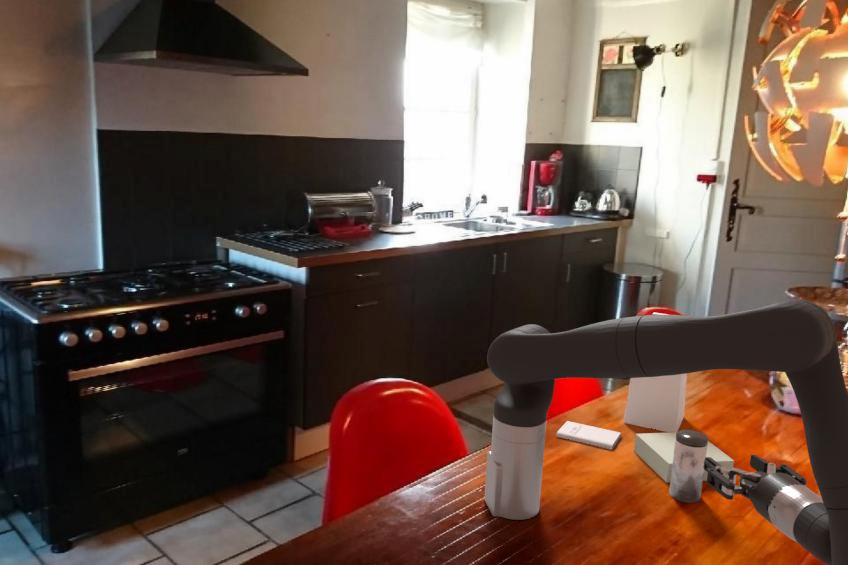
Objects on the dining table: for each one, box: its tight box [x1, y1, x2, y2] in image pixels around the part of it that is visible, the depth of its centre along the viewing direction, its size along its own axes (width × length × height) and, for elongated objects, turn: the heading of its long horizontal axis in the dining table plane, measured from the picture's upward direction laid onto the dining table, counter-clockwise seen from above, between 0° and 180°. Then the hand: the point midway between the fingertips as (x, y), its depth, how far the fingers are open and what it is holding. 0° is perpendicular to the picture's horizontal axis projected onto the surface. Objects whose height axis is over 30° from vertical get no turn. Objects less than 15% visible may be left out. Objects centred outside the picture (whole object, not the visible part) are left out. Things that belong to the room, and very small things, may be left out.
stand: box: [633, 432, 735, 483], centre depth 147 cm, size 14×14×4 cm
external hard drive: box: [556, 420, 622, 451], centre depth 159 cm, size 2×8×12 cm
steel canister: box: [668, 429, 709, 504], centre depth 133 cm, size 6×6×12 cm
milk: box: [623, 311, 688, 433], centre depth 168 cm, size 12×12×26 cm
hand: (729, 460), depth 121 cm, fingers open, 8 cm apart
